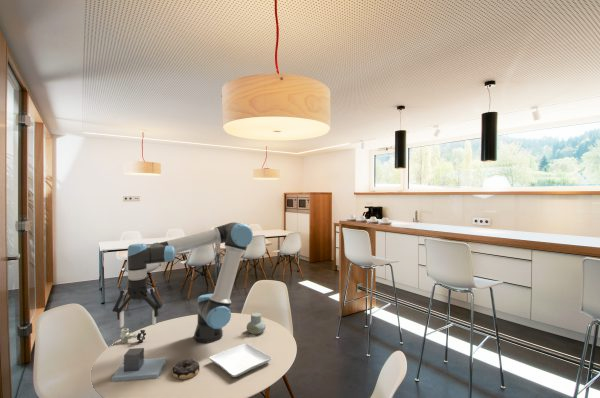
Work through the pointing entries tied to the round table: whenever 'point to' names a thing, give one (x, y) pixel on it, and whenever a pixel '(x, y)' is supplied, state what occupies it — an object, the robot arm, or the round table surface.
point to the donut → (185, 369)
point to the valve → (131, 335)
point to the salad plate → (240, 359)
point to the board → (142, 370)
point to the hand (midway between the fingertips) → (138, 325)
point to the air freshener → (256, 324)
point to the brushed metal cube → (133, 359)
